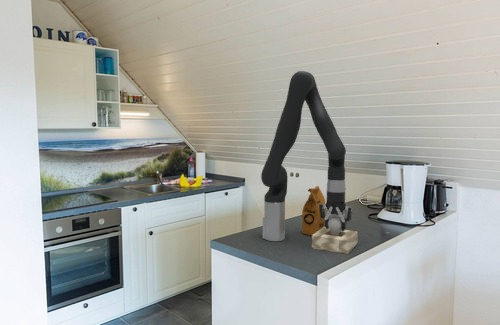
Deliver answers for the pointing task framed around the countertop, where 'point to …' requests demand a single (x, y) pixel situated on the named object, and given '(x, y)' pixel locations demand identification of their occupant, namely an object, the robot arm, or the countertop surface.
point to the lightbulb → (335, 225)
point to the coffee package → (313, 212)
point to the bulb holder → (334, 241)
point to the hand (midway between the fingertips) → (335, 229)
